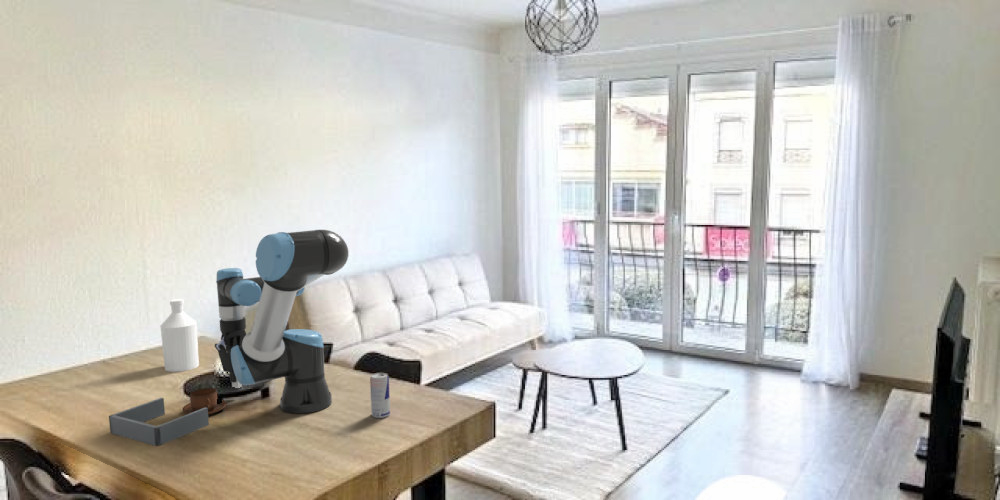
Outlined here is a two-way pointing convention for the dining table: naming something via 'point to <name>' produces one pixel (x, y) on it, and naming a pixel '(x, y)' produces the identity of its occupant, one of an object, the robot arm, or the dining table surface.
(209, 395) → the cup and saucer
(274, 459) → the dining table surface
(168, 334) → the bottle
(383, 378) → the energy drink
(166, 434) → the box
